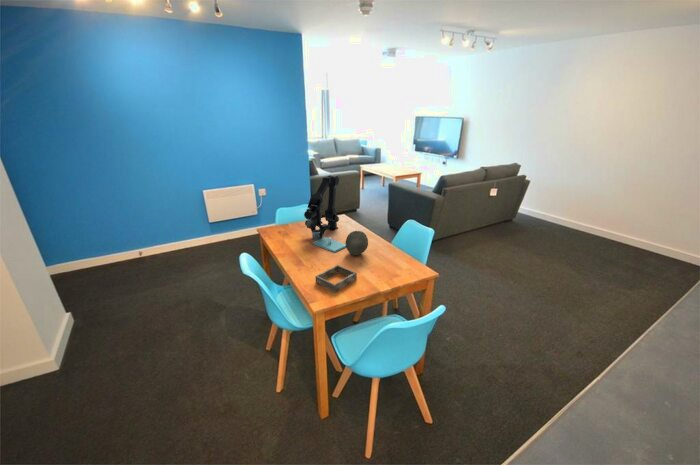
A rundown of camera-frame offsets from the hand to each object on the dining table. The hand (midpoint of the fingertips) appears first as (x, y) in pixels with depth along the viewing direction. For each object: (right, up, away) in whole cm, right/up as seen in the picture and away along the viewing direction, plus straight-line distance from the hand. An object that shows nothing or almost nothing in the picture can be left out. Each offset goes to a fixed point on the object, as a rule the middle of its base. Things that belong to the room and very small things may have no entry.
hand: (317, 236), depth 208 cm
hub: (0, -1, 0) cm, 1 cm away
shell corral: (+15, -22, -52) cm, 59 cm away
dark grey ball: (+27, -11, -23) cm, 37 cm away
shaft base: (+9, -6, -11) cm, 15 cm away
